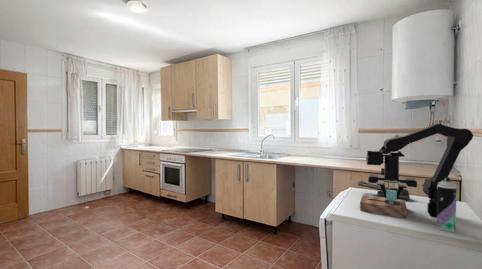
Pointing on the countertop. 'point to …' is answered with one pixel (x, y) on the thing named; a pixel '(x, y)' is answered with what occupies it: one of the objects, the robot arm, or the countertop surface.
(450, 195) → the spray can
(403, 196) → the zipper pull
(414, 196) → the countertop surface
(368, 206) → the keyhole plate
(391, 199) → the teal peg
